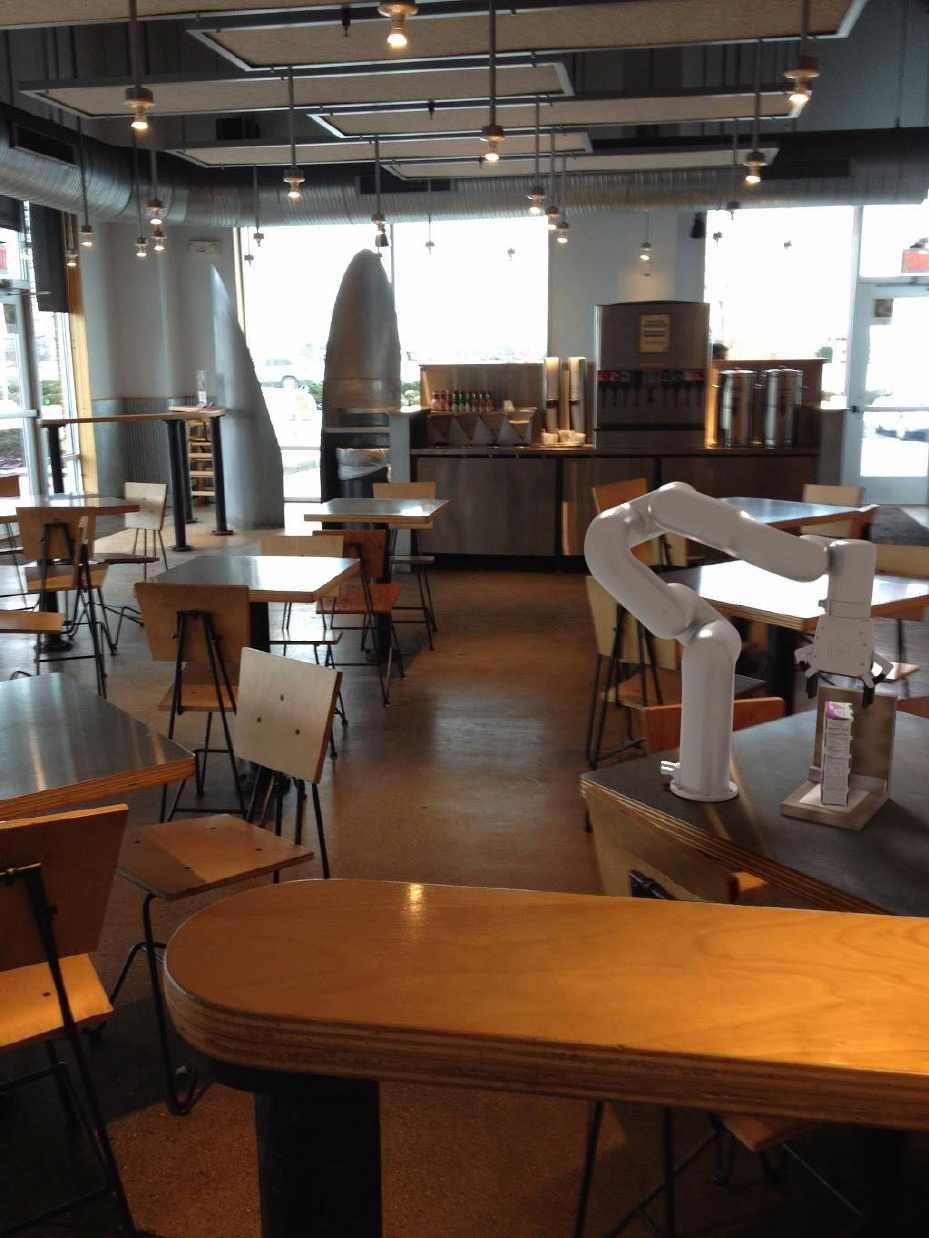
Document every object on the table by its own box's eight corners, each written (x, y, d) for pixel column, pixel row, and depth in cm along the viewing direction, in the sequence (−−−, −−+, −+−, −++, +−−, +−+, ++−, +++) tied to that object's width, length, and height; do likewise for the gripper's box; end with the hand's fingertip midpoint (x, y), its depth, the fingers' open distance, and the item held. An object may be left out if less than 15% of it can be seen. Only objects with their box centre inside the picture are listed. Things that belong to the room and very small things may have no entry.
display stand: (780, 813, 200) (787, 706, 196) (815, 783, 216) (822, 683, 212) (859, 830, 192) (867, 719, 188) (889, 797, 208) (897, 695, 204)
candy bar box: (818, 784, 209) (824, 700, 206) (846, 787, 208) (852, 702, 204) (819, 804, 199) (825, 716, 195) (848, 807, 197) (855, 718, 194)
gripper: (793, 606, 198) (784, 698, 202) (893, 619, 188) (882, 716, 192) (806, 600, 204) (798, 690, 208) (904, 613, 195) (893, 706, 198)
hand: (838, 702), depth 200 cm, fingers open, 9 cm apart
